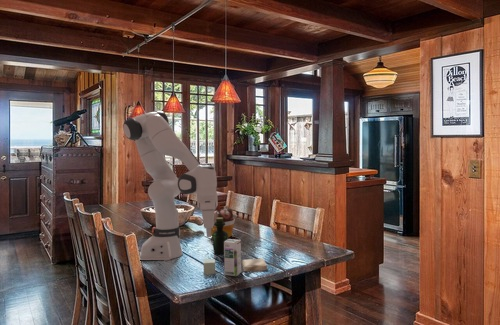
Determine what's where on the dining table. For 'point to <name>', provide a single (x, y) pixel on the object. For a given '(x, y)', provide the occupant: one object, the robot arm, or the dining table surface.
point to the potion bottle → (219, 237)
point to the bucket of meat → (224, 219)
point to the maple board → (254, 264)
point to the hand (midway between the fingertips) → (208, 234)
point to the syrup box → (232, 257)
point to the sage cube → (209, 266)
